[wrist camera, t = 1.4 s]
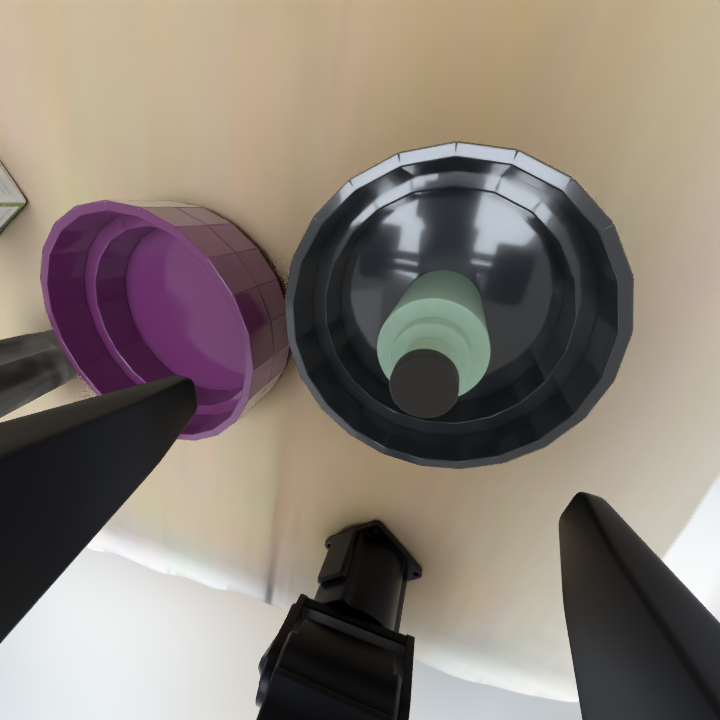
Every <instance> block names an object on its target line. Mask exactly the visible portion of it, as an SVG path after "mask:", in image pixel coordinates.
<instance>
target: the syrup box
mask: <svg viewBox="0 0 720 720" xmlns="http://www.w3.org/2000/svg"><path fill="white" fill-rule="evenodd" d="M25 203H26V200H25V198H24V196H23V195H22V193H21V192H20V190H19V189H18V187H17V185H16V184H15V182H14V181H13V179H12V178H11V176H10V175H9V174H8V172H7V171H6V169H5V168H4V166H3V165H2V163H1V162H0V231H1V230H2V229H3V228H4V227H5V226H6V224H7V223H8V222H9V221H10V220H11V219H12V218H13V217H14V216H15V214H16V213H17V212H18V211H19V210H20V209H21V208H22V207H23V206H24V205H25Z"/></svg>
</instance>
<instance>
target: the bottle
mask: <svg viewBox="0 0 720 720" xmlns="http://www.w3.org/2000/svg"><path fill="white" fill-rule="evenodd" d="M490 351H491V349H490V340H489V335H488V330H487V325H486V320H485V315H484V310H483V304H482V300H481V296H480V293H479V291H478V289H477V288H476V286H475V285H474V284H473V282H471V281H470V280H469V279H468V278H467V277H465V276H464V275H462V274H460V273H457V272H454V271H450V270H436V271H432V272H429V273H426V274H424V275H422V276H421V277H419V278H417V279H416V280H415V281H414V282H413V283H412V284H411V285H410V287H409V288H408V289H407V291H406V292H405V294H404V295H403V297H402V298H401V300H400V301H399V302H398V304H397V305H396V307H395V308H394V310H393V311H392V313H391V314H390V315H389V317H388V318H387V320H386V321H385V323H384V324H383V326H382V328H381V330H380V333H379V336H378V342H377V354H378V359H379V363H380V365H381V368H382V370H383V372H384V374H385V375H386V377H387V378H388V379H389V390H390V393H391V396H392V398H393V400H394V402H395V403H396V404H397V405H398V406H399V407H400V408H401V409H402V410H403V411H405V412H406V413H408V414H410V415H413V416H416V417H421V418H432V417H437V416H440V415H442V414H444V413H446V412H447V411H448V410H450V409H451V408H452V407H453V405H454V404H455V402H456V400H457V398H458V396H460V395H463V394H464V393H466V392H468V391H469V390H470V389H472V388H473V387H474V386H475V385H476V384H477V383H478V382H479V381H480V380H481V378H482V377H483V375H484V373H485V372H486V370H487V367H488V364H489V360H490Z"/></svg>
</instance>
